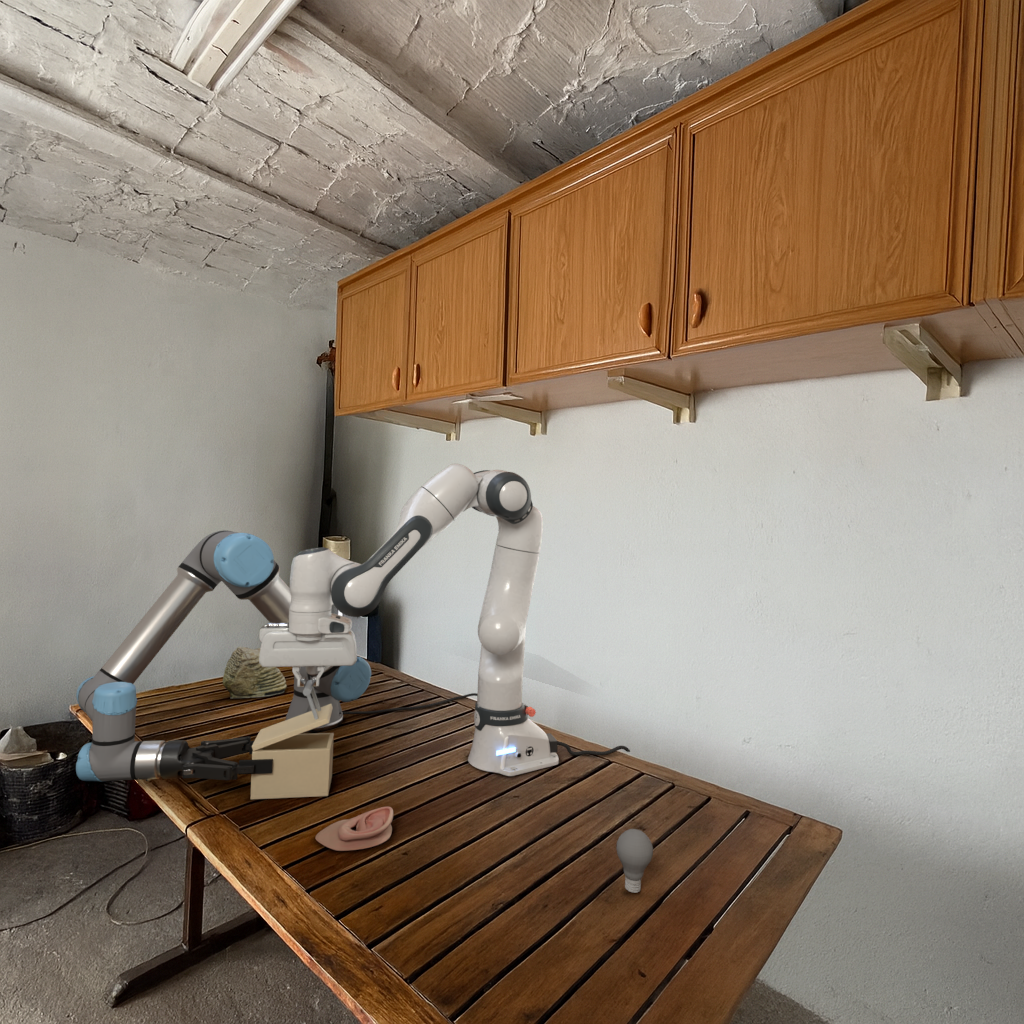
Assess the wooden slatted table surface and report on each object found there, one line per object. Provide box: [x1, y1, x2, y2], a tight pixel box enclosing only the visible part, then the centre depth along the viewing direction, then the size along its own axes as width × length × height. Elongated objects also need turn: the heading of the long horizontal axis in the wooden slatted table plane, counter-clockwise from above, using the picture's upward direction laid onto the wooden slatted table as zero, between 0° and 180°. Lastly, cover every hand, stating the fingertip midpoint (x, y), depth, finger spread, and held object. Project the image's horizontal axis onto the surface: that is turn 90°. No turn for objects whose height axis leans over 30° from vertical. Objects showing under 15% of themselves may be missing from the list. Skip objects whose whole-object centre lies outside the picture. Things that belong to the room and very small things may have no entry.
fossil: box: [222, 646, 288, 699], centre depth 198 cm, size 9×18×15 cm, turn 132°
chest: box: [250, 732, 335, 800], centre depth 137 cm, size 16×10×10 cm, turn 101°
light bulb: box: [615, 828, 654, 894], centre depth 106 cm, size 6×6×10 cm
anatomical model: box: [315, 806, 394, 852], centre depth 119 cm, size 13×4×12 cm
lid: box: [252, 680, 333, 751], centre depth 137 cm, size 16×10×8 cm, turn 101°
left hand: (276, 756), depth 137 cm, fingers closed on chest, 10 cm apart
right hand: (308, 685), depth 137 cm, fingers closed
